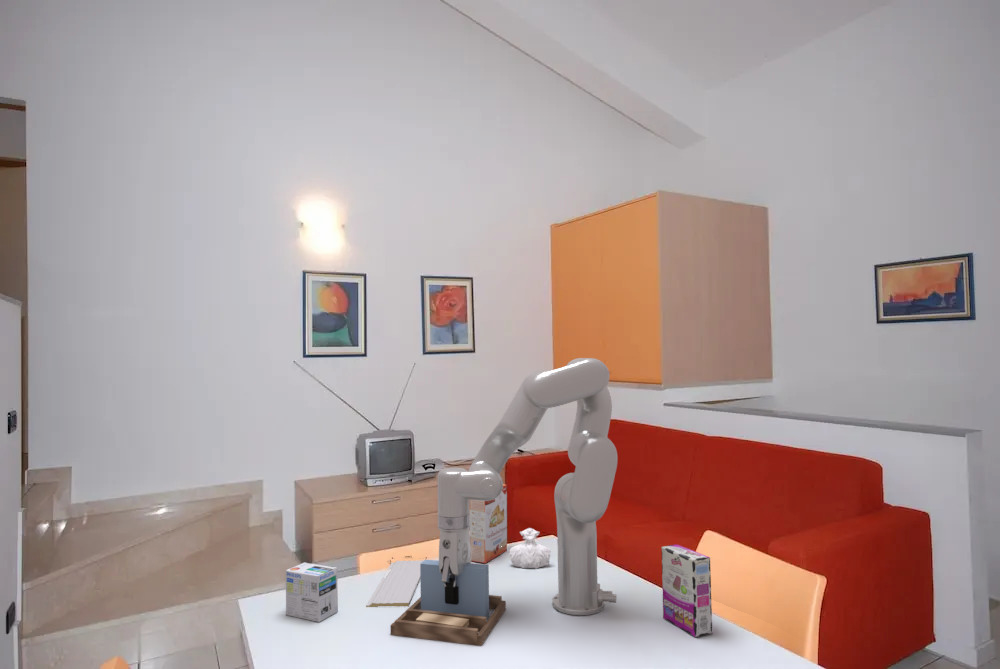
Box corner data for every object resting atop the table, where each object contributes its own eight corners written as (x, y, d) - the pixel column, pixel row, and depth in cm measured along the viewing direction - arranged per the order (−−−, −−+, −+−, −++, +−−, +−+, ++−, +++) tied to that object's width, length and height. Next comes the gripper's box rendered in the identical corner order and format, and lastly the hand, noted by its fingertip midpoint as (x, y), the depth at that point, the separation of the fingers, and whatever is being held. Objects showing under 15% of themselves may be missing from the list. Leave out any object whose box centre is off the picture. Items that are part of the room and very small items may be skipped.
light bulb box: (339, 612, 145) (338, 566, 145) (319, 623, 139) (319, 575, 139) (304, 605, 149) (304, 561, 150) (284, 615, 143) (284, 569, 143)
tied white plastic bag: (551, 572, 175) (549, 535, 182) (551, 563, 169) (549, 524, 176) (509, 572, 175) (510, 534, 183) (508, 563, 170) (509, 524, 177)
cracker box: (486, 564, 176) (485, 492, 177) (469, 561, 179) (468, 490, 180) (508, 550, 188) (507, 483, 189) (491, 548, 191) (490, 482, 192)
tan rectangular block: (469, 634, 132) (469, 619, 132) (462, 642, 129) (462, 626, 129) (421, 626, 136) (421, 612, 137) (412, 634, 133) (412, 619, 133)
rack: (505, 609, 144) (505, 596, 144) (481, 645, 126) (481, 631, 126) (425, 600, 150) (425, 588, 150) (390, 634, 132) (390, 620, 132)
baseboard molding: (360, 609, 147) (408, 609, 147) (360, 597, 147) (408, 597, 147) (386, 565, 178) (427, 565, 178) (386, 555, 178) (427, 555, 178)
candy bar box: (714, 634, 130) (711, 557, 130) (695, 638, 128) (693, 560, 128) (679, 614, 140) (677, 542, 141) (662, 618, 138) (660, 545, 139)
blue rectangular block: (489, 617, 140) (488, 564, 141) (485, 622, 137) (484, 569, 138) (425, 610, 145) (425, 559, 145) (420, 615, 142) (420, 563, 142)
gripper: (456, 532, 133) (457, 616, 132) (479, 513, 149) (480, 589, 148) (425, 529, 135) (426, 613, 134) (451, 511, 151) (452, 586, 150)
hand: (454, 599), depth 141 cm, fingers closed on blue rectangular block, 3 cm apart
